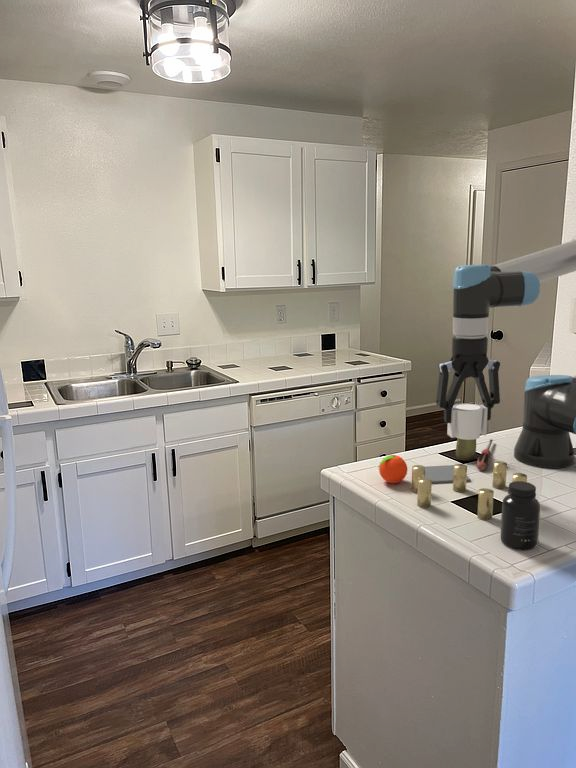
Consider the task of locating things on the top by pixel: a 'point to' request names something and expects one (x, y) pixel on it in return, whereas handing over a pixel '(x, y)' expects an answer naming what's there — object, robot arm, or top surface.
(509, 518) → the supplement bottle
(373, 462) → the top surface
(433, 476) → the slate mat
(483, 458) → the screwdriver
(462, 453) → the fennel bulb
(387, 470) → the clementine
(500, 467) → the spacer field
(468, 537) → the top surface
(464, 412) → the white cup
